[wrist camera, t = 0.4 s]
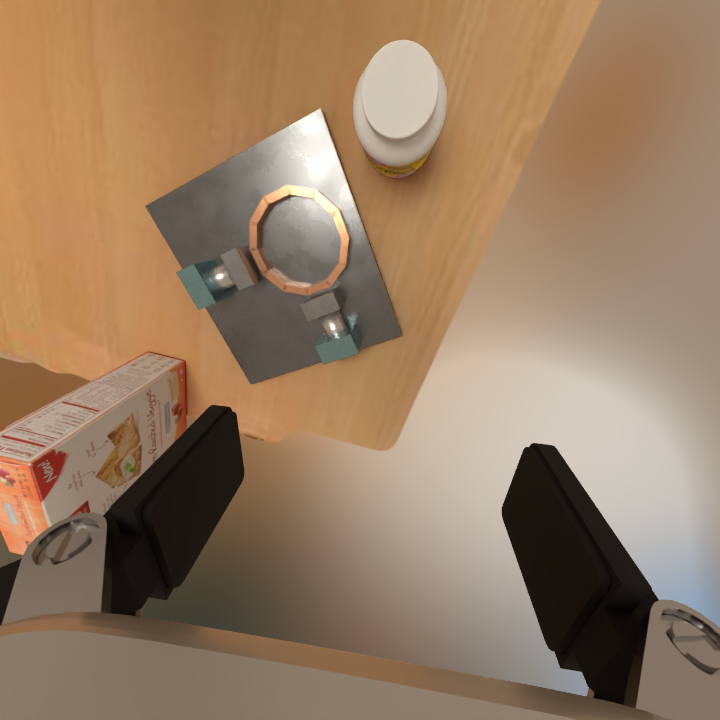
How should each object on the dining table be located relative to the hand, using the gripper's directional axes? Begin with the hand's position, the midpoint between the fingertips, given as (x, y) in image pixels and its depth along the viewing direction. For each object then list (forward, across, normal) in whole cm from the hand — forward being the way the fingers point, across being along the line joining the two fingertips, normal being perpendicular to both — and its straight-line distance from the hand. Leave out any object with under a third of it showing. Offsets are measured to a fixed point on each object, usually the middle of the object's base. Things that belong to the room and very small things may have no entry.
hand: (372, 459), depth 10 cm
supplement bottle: (+29, +1, -14) cm, 32 cm away
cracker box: (+29, +32, +19) cm, 47 cm away
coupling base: (+29, +13, 0) cm, 31 cm away
